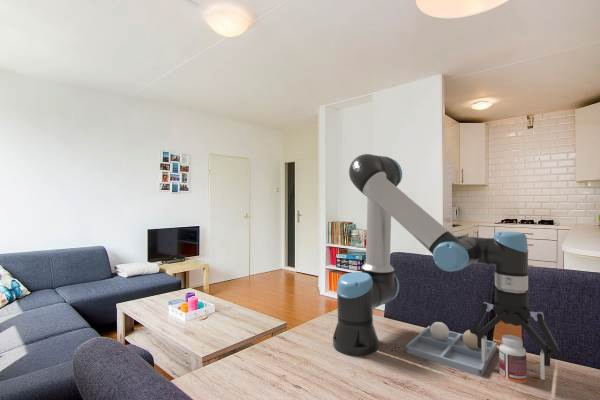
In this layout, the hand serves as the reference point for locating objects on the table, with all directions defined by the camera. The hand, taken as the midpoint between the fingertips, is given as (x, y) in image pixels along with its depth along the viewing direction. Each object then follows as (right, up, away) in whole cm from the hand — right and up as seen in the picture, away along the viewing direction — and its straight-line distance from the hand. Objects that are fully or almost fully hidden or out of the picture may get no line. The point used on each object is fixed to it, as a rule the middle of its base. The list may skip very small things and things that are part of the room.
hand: (512, 368), depth 85 cm
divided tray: (-9, -3, +15) cm, 18 cm away
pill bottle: (0, -3, 0) cm, 3 cm away
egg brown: (-2, -2, +15) cm, 16 cm away
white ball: (-10, -2, +22) cm, 24 cm away
